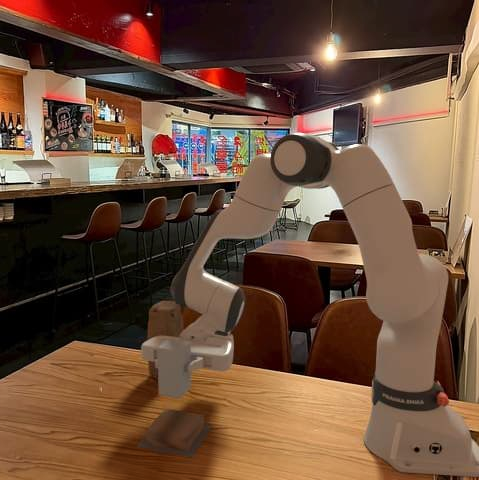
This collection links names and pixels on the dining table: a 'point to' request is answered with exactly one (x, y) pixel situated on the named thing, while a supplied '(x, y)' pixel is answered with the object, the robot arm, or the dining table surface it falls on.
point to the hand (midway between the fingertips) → (173, 367)
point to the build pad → (175, 451)
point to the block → (164, 325)
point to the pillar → (174, 368)
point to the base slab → (175, 429)
